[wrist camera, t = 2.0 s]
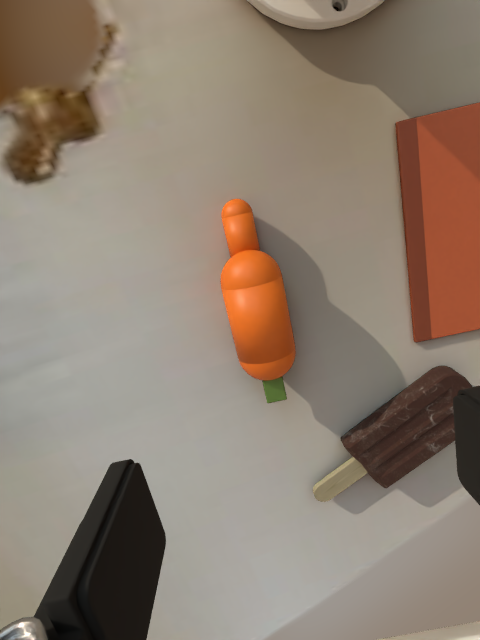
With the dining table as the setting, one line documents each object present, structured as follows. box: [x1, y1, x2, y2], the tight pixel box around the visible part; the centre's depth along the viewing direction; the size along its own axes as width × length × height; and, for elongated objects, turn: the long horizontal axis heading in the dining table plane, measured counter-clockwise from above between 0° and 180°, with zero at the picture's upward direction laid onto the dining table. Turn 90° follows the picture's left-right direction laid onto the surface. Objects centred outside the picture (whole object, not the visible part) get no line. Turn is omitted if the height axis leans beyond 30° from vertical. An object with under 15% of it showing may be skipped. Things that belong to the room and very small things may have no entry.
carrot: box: [221, 199, 296, 403], centre depth 23 cm, size 14×4×4 cm, turn 12°
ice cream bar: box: [313, 366, 472, 502], centre depth 28 cm, size 5×2×15 cm
